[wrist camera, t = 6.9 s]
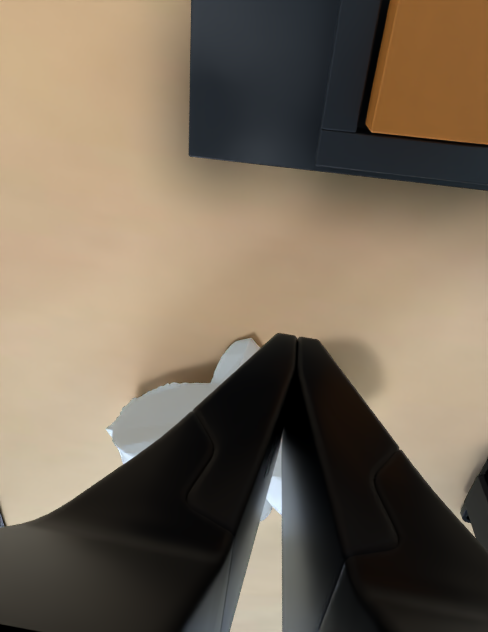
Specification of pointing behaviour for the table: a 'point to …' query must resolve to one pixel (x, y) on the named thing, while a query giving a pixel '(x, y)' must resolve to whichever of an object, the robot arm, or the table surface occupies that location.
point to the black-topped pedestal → (1, 521)
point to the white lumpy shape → (183, 415)
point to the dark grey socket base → (305, 93)
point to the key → (432, 71)
